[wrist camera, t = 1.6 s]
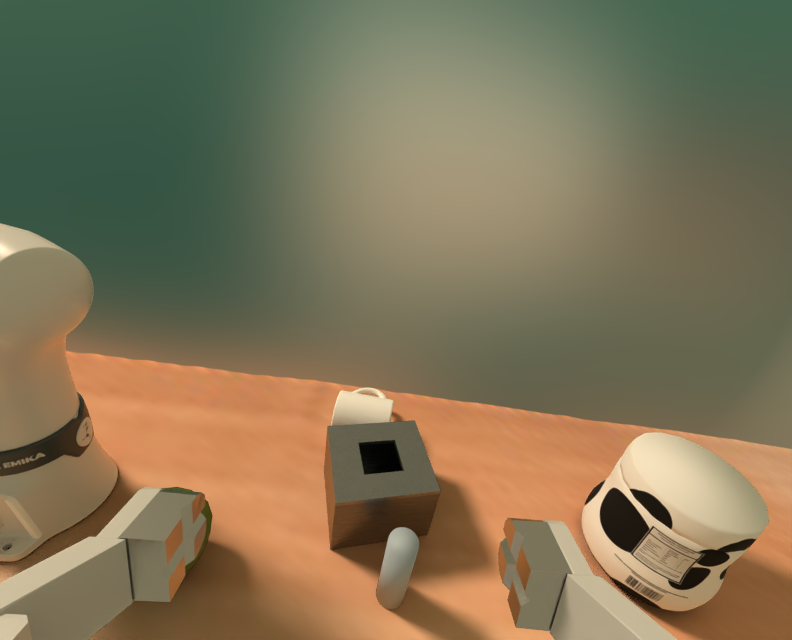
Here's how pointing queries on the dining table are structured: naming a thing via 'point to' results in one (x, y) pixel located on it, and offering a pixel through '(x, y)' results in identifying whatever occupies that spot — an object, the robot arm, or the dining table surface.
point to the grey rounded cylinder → (397, 567)
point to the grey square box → (377, 482)
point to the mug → (362, 407)
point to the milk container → (671, 521)
